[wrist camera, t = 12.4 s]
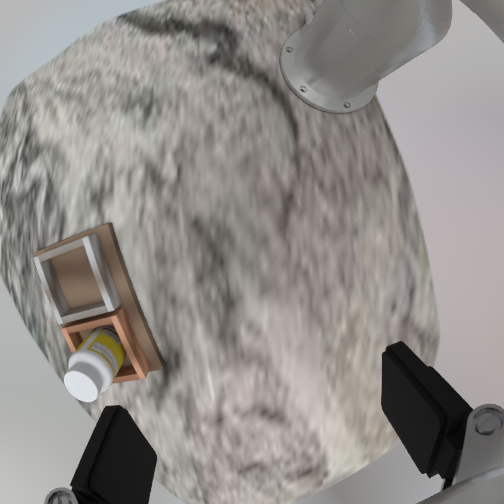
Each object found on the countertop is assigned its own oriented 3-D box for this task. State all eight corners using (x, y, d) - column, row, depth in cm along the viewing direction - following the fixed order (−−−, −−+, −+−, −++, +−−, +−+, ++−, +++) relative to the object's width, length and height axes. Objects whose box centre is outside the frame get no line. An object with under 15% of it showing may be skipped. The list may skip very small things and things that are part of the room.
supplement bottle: (97, 361, 33) (68, 404, 24) (85, 325, 32) (50, 362, 23) (133, 362, 34) (110, 409, 24) (123, 324, 33) (93, 365, 23)
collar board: (38, 251, 31) (23, 256, 27) (111, 222, 31) (98, 225, 28) (92, 376, 35) (83, 391, 31) (165, 364, 35) (160, 379, 32)
